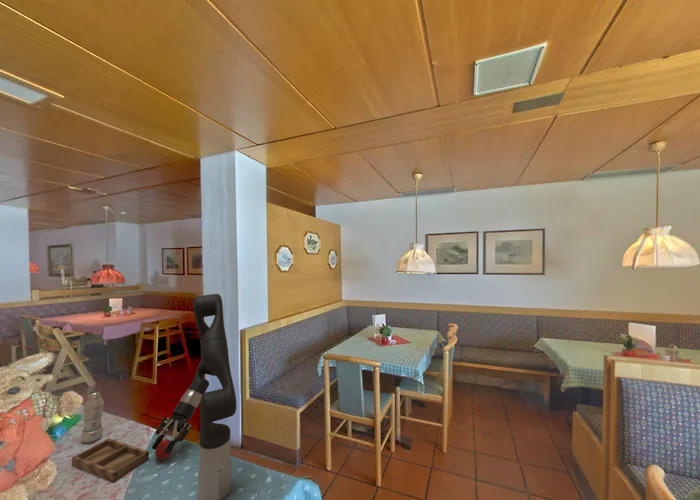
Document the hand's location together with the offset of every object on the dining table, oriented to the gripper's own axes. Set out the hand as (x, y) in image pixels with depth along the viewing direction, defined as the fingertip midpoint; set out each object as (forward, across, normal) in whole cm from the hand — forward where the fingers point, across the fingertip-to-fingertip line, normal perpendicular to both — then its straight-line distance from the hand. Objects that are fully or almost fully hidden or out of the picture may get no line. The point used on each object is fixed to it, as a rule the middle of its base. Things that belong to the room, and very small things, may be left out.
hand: (160, 450), depth 106 cm
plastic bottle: (+3, -39, +3) cm, 39 cm away
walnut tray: (+7, -17, -1) cm, 19 cm away
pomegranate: (+2, 0, +4) cm, 5 cm away
